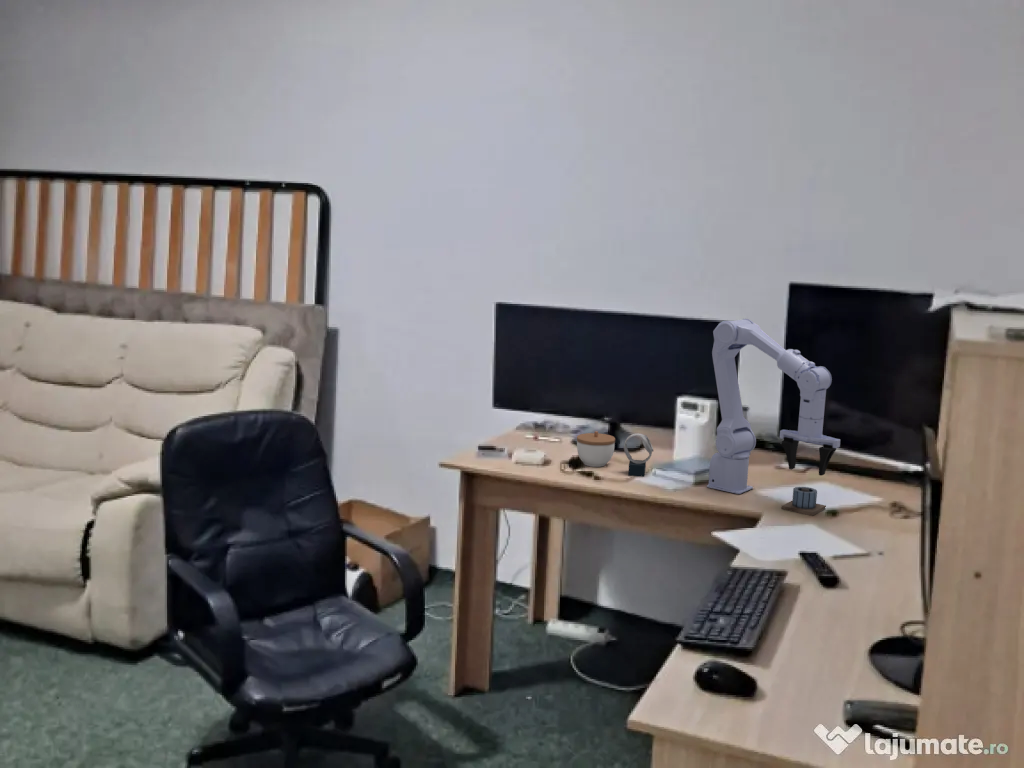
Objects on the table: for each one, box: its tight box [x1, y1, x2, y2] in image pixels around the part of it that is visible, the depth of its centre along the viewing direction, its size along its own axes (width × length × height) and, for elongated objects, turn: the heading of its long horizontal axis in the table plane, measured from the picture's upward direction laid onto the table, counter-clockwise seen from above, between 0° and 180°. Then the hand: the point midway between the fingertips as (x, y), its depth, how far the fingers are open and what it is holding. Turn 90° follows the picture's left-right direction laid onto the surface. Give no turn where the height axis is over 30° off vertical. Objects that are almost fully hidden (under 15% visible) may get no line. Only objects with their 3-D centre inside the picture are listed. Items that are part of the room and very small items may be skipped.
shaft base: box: [780, 488, 827, 517], centre depth 251 cm, size 8×8×5 cm
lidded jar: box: [576, 430, 616, 468], centre depth 287 cm, size 11×11×9 cm
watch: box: [623, 432, 654, 478], centre depth 278 cm, size 6×8×11 cm
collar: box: [791, 486, 818, 509], centre depth 251 cm, size 6×6×4 cm
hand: (806, 471), depth 250 cm, fingers open, 7 cm apart
